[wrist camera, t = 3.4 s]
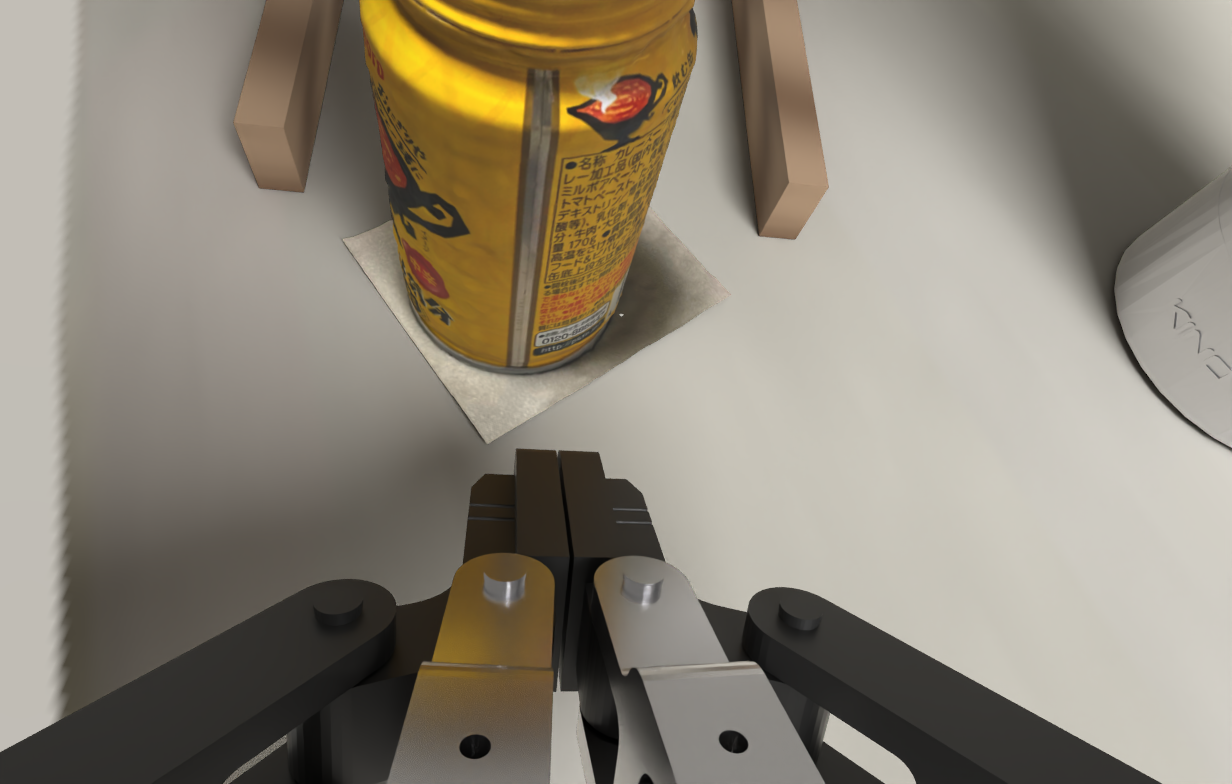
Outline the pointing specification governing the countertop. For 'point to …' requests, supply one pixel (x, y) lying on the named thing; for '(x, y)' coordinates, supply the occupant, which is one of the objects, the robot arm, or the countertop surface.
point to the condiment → (528, 190)
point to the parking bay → (770, 77)
